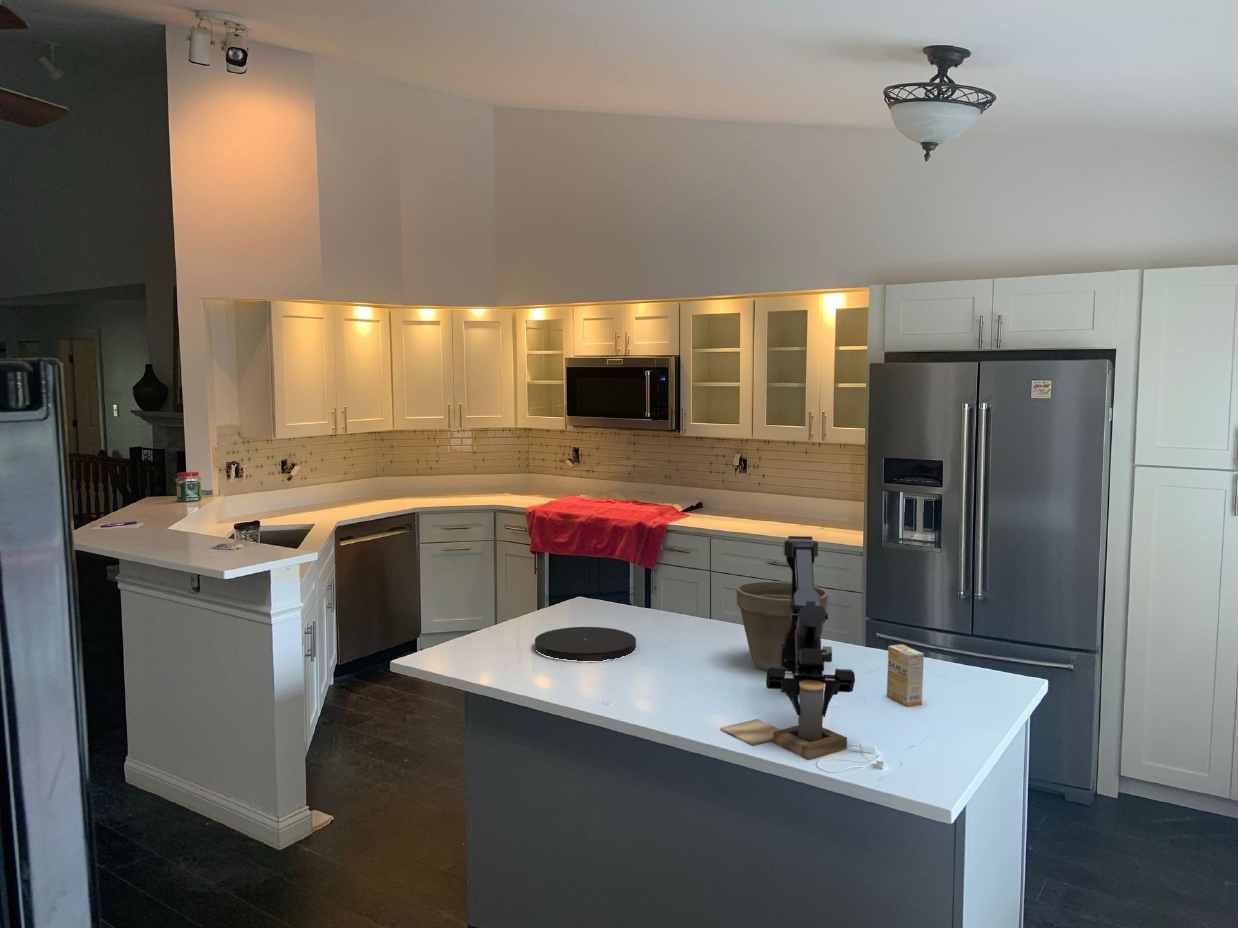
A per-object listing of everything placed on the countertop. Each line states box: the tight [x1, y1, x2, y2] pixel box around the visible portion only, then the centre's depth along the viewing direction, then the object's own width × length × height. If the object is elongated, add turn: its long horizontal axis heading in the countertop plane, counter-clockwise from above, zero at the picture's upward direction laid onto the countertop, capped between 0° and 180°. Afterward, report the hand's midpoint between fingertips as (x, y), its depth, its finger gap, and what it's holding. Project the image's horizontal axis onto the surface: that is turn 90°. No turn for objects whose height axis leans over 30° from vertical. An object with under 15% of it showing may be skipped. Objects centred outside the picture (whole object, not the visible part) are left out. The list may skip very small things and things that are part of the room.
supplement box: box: [886, 644, 925, 707], centre depth 230 cm, size 8×5×13 cm, turn 21°
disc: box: [534, 626, 637, 661], centre depth 276 cm, size 30×30×3 cm
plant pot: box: [735, 580, 829, 672], centre depth 259 cm, size 25×25×22 cm
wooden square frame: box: [772, 724, 848, 761], centre depth 201 cm, size 11×11×2 cm
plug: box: [797, 680, 825, 742], centre depth 200 cm, size 5×5×14 cm
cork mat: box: [719, 718, 781, 747], centre depth 208 cm, size 11×11×1 cm
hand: (811, 715), depth 198 cm, fingers closed on plug, 5 cm apart
